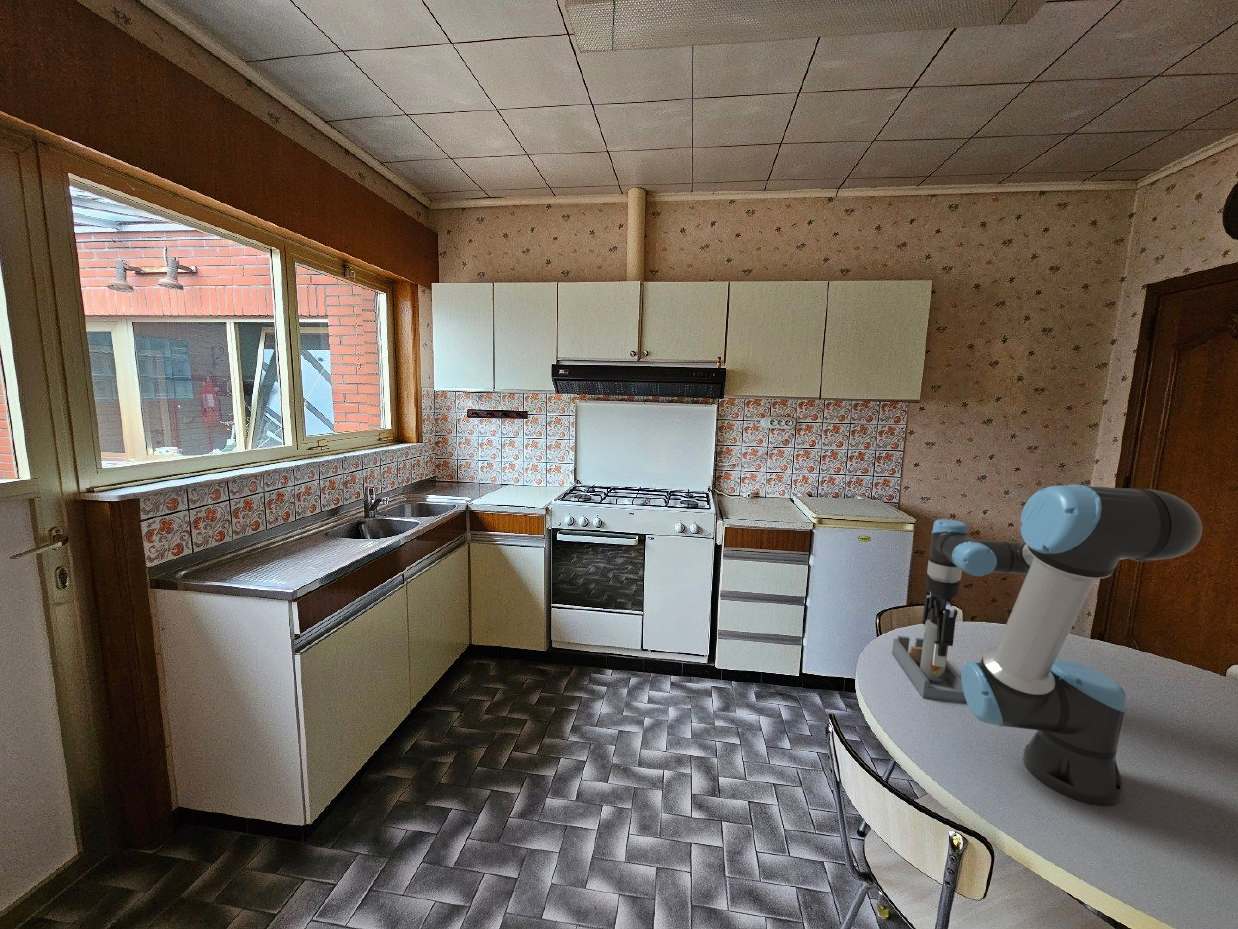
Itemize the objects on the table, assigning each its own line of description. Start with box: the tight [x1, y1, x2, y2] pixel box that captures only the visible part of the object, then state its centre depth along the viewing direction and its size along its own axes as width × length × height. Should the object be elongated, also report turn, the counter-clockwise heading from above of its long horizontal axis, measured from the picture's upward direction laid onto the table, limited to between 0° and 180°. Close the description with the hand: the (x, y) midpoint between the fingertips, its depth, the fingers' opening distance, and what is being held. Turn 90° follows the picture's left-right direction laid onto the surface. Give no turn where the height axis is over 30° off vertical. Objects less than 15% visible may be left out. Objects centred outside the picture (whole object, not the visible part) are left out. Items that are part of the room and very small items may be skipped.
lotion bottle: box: [920, 606, 949, 682], centre depth 134 cm, size 6×6×20 cm
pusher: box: [909, 645, 922, 668], centre depth 144 cm, size 7×7×6 cm
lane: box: [891, 635, 967, 704], centre depth 139 cm, size 23×10×6 cm, turn 169°
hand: (933, 659), depth 135 cm, fingers closed on lotion bottle, 5 cm apart
